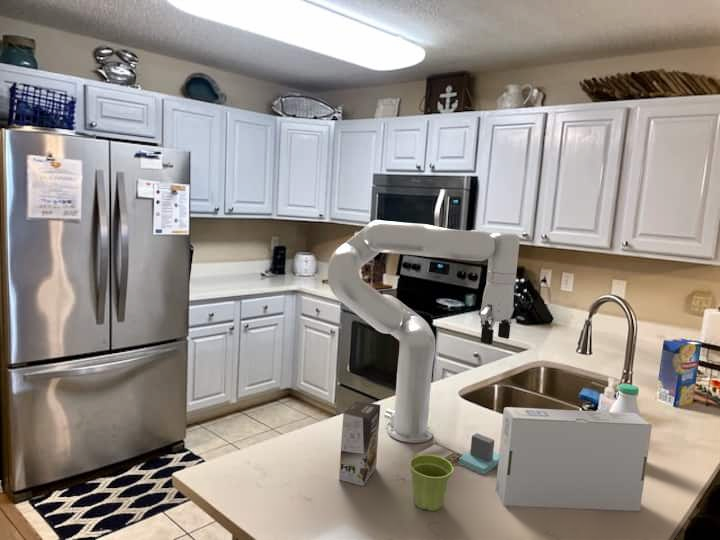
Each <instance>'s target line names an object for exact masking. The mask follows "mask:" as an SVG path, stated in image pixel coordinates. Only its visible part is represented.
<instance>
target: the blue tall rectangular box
mask: <svg viewBox="0 0 720 540" xmlns="http://www.w3.org/2000/svg"><path fill="white" fill-rule="evenodd" d="M701 350H702V343H701V342H698V341H693V340H690V339H686V338H674V339H664V340H663V342H662V350H661V351H662V352H661V357H660V358H661V359H660V362H659V363H660V364H659V370H658V371H659V372H658V379H657V384H656V385H657V387H656V391H655V392H656V393H655V401H657V402H660V403H663V404H665V405H668V406H671V407H673V408H676V407H681V406H687V405H690V404H693V403H694V396H695V391H696V384H697V376H698V371H699V370H698V369H699V363H700V357H701Z"/></svg>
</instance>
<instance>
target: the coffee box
mask: <svg viewBox="0 0 720 540" xmlns="http://www.w3.org/2000/svg"><path fill="white" fill-rule="evenodd" d="M380 414H381V404H377V403H371V402H365V401H360V400H356V401H354V402H353V404H351V405H350V406H349V407H348V408H347V409H346V410H345V411H344V412H343V416H342V425H341V426H342V429H341V443H340V444H341V445H340V456H339V457H340V458H339V459H340V460H339V472H338V480H340V481H342V482H347V483H350V484H354V485H357V486H360V487H363V486H365V484H366V483H367V482H368V480H369V479H370V477H371V476H372V474H373V473H374V471H375V470H376V468H377V458H378V444H379V427H380Z"/></svg>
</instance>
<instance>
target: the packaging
mask: <svg viewBox="0 0 720 540" xmlns="http://www.w3.org/2000/svg"><path fill="white" fill-rule="evenodd" d="M652 428H653V426H652V424H651V423H650V422H648V420H647V421H646V420H645V419H644V418H643V417H642V416H641V417H640V416H638V415H637V414H635V413H619V412H610V411H593V410H573V409H555V408H552V409H551V408H535V407H534V408H533V407H532V408H531V407H512V406H509V407H508V406H507V407H504V408H503V414H502V424H501V433H500V442H499V443H500V444H499V452H498V454H499V462H498V465H497V473H496V482H495V483H496V484H495V493H496V494H497V496H498V499H499V500H500V503H501V504H502V506H503V507H505V506H507V507H527V508H529V507H532V508H549V509H550V508H552V509H553V508H554V509H555V508H556V509H577V510H580V509H581V510H599V511H600V510H604V511H605V510H606V511H628V512H629V511H632V512H641V507H642V506H641V504H642V498H643V492H644V485H645V484H644V483H645V478H646V471H647V463H648V457H649V450H650V442H651V435H652Z"/></svg>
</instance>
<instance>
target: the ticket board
mask: <svg viewBox="0 0 720 540" xmlns="http://www.w3.org/2000/svg"><path fill="white" fill-rule="evenodd" d="M418 455H435V456H439V457H442V458H444V459H446V460H448V461H449V462H450V463H451V464H452V465H453V466H454V464H455V465H456V464H458V463H457V462H459V458H460V457H461V456H463V453H461V452H458V451H456V450H454V449H451V448H449V447H446V446H445V445H441V444H439V443H437V442H435V443H433V444H432V445H430V446H428V447H426V448H424V449H422V450H421V451H419V452H417V453H415V454H413V457H415V456H418ZM413 457H412V458H413Z"/></svg>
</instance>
